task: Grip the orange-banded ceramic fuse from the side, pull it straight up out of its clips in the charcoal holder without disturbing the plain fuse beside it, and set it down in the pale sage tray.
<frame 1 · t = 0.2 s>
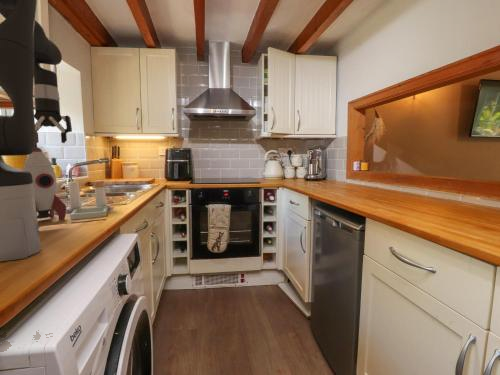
hand: (50, 142, 103), 29 cm above the worktop, tool pointing down, fingers open, 8 cm apart
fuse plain: (76, 211, 109), point 1 cm above the worktop, touching holder
holder: (76, 215, 109), on the worktop
tray: (90, 218, 103), on the worktop
toy: (44, 224, 95), on the worktop
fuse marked: (101, 209, 113), point 1 cm above the worktop, touching holder
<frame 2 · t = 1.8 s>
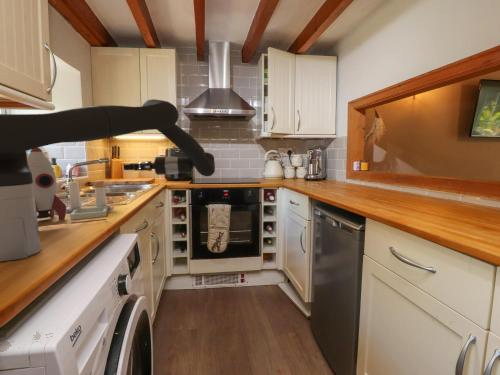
hand: (126, 166, 112), 19 cm above the worktop, tool horizontal, fingers open, 8 cm apart
nothing on the worktop moved.
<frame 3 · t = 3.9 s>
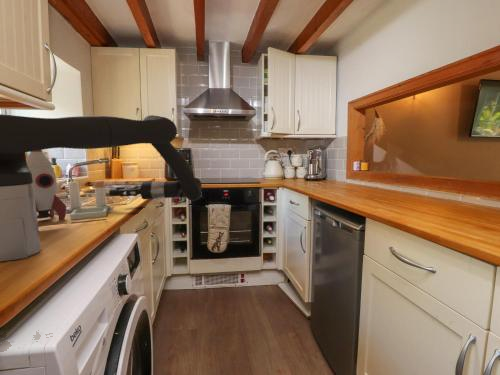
hand: (113, 191, 112), 9 cm above the worktop, tool horizontal, fingers open, 8 cm apart
nothing on the worktop moved.
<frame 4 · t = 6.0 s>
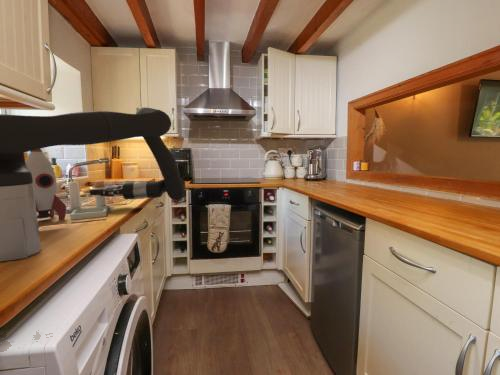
hand: (92, 191, 111), 9 cm above the worktop, tool horizontal, fingers closed on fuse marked, 3 cm apart
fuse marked: (101, 209, 113), point 2 cm above the worktop, touching gripper, holder
everything else where it was.
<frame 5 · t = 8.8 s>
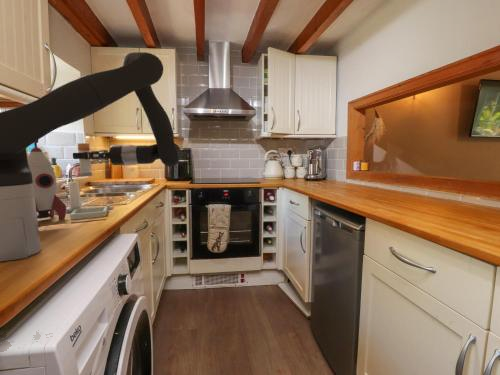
hand: (76, 155, 99), 24 cm above the worktop, tool horizontal, fingers closed on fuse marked, 3 cm apart
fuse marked: (86, 176, 101), point 16 cm above the worktop, touching gripper
everything else where it was.
when the fingers open (10 cm above the worktop, at t = 11.8 s): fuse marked drops 1 cm, resting on tray.
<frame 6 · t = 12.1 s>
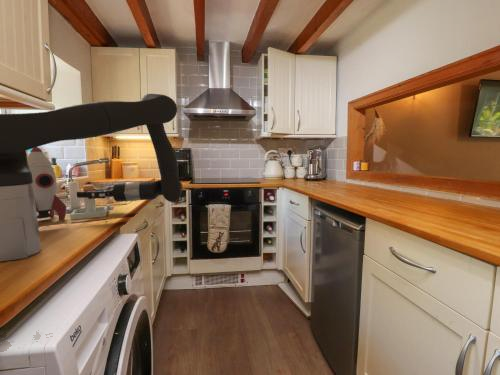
hand: (81, 193, 101), 10 cm above the worktop, tool horizontal, fingers open, 6 cm apart
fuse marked: (90, 216, 103), point 1 cm above the worktop, touching tray
everything else where it was.
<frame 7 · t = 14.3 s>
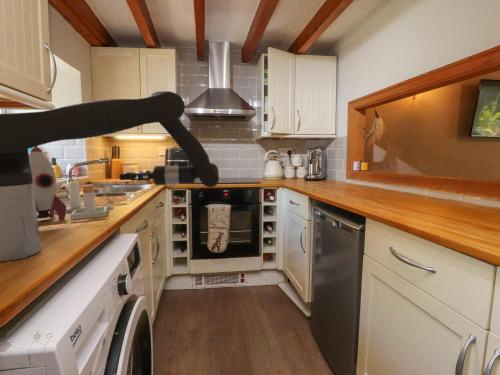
hand: (123, 176, 103), 16 cm above the worktop, tool horizontal, fingers open, 8 cm apart
nothing on the worktop moved.
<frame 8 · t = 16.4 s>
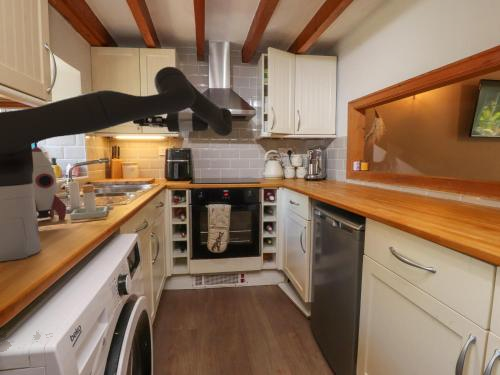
hand: (136, 122, 102), 36 cm above the worktop, tool horizontal, fingers open, 8 cm apart
nothing on the worktop moved.
at the end: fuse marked inside the target area on the tray (0.1 cm from its centre), point 0.8 cm above the tray's base; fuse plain moved 0.0 cm from its start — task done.
